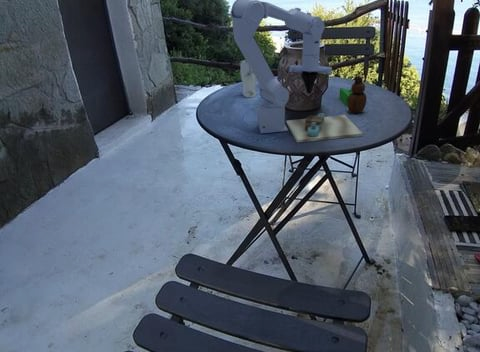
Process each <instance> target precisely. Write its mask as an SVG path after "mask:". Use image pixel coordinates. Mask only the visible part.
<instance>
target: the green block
mask: <svg viewBox="0 0 480 352" xmlns="http://www.w3.org/2000/svg"><path fill="white" fill-rule="evenodd" d="M351 93H353V92H352V91H351V89H344V87H339V96H338V98H339V100H341V102H342V103H343V104H344V105H345V106H346V107H347V108H348V106H347V99H348V96H349V95H350V94H351Z"/></svg>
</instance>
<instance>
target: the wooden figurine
mask: <svg viewBox="0 0 480 352" xmlns="http://www.w3.org/2000/svg"><path fill="white" fill-rule="evenodd" d="M354 80H355V81H354V82H353V84H352V85H351V87H350V90H351V91H352V93H351V94H350V95H349V96H348V99H347V106H348V107H347V106H346V107H347V110H348V111H349V112H350V113H351V114H359V113H362V112H363V111H364V109H365V107H366V106H367V94H366V93H365V90H366V84H365V83H364V82H363V77H361V75H360V73H359V74H358V73H355V78H354Z"/></svg>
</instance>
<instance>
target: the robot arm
mask: <svg viewBox="0 0 480 352" xmlns="http://www.w3.org/2000/svg"><path fill="white" fill-rule="evenodd" d="M229 17H230V19H231V21H232V31H233V32H232V33H233V40H234V41H235V43H236V45H237V47H238V48H239V51H240V52H241V54H242V56H243V57H244V60H246V61H247V63H248V64H249V66H250V68H251V70H252V71H253V73H254V75H255V77H256V81H258V82H257V83H258V85H257V88H258V89H259V96H260V98H261V99H262V100H263V101H262V103H263V104H261V105H258V106H257V126H258V130H259V132H260V134H267V133H268V134H270V133H280V132H288V131H289V128H288V126H287V125H286V119H285V118H286V117H285V113H286V110H285V107H286V105H287V103H288V101H289V99H290V92H289V90H288V89H287V88H285V87H283V84H282V83H281V82H280V81H279V80H278V79H277V78H276V77H275V76H274V73H273V72H272V70H271V68H270V67H269V64H268V63H267V61H266V59H265V57H264V55H263V53H262V51H261V49H260V47H259V46H258V43H257V42H256V40H255V38H254V34H256V31H257V29H258V28H259V26H260V25H261V23H262V22H263V20H266V19H267V18H268V17H269V18H272V19H275V20H278V21H282V22H284V24H285V26H286V28H289V29H292V30H295V31H297V32H300V33H301V34H302V56H301V57H302V59H301V64H297V65H294V64H293V65H290V66H289V70H288V71H289V73H301V79H302V80H303V82H304V85H305V89H306V94H312V92H313V88H314V84H315V82H316V79H317V78H318V76H319V74H327V75H331V74H332V71H333V67H332V66H324V65H320V51H321V49H320V48H321V39H322V36H323V35H322V34H323V33H324V30H325V28H326V25H325V23H324V21H323V20H322V18H321V17H319V16H315V15H312V13H311V12H307V13H306V12H304V11H302V10H301V8H300V7H294V8H291V9H289V10H287V9H284V8H282V7H280V6H278V5H275V4H272V3H270V2H267V1H261V0H235V1H234V2H233V3H232V6H231V9H230V13H229Z"/></svg>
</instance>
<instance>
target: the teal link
mask: <svg viewBox="0 0 480 352" xmlns="http://www.w3.org/2000/svg"><path fill="white" fill-rule="evenodd" d="M316 116H322V117H326V116H325V113H323V112H321V113H319V112H318V114H317V115H316ZM322 123H323V122H322ZM321 125H322V124H316V123H315V122H312V124H311V127H309V128H308V135H309V136H318V135H319V129H320V127H321Z"/></svg>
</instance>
